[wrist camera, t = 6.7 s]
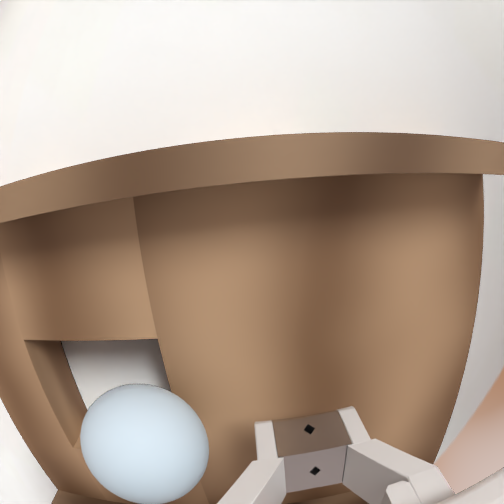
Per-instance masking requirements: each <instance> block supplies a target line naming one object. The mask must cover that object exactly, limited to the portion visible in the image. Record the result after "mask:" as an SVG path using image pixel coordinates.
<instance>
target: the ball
mask: <svg viewBox="0 0 504 504" xmlns="http://www.w3.org/2000/svg"><path fill="white" fill-rule="evenodd" d="M80 443H81V449H82V454H83V457H84V460H85V462H86V464H87V466H88V468H89V470H90V471H91V473H92V474H93V476H94V477H95V478H96V479H97V480H98V482H99V483H100V484H102V485H103V486H104V487H105V488H106V489H107V490H109V491H110V492H112V493H113V494H115V495H117V496H119V497H121V498H123V499H125V500H128V501H131V502H135V503H140V504H163V503H167V502H171V501H174V500H176V499H178V498H181V497H182V496H184V495H185V494H187V493H188V492H189V491H191V490H192V489H193V488H194V487H195V486H196V485H197V483H198V482H199V481H200V479H201V478H202V476H203V474H204V472H205V470H206V467H207V463H208V459H209V442H208V437H207V434H206V430H205V428H204V426H203V424H202V422H201V420H200V418H199V417H198V415H197V414H196V412H195V411H194V410H193V409H192V408H191V407H190V406H189V405H188V404H187V403H186V402H185V401H184V400H183V399H181V398H180V397H178V396H177V395H175V394H174V393H172V392H170V391H168V390H166V389H163V388H160V387H157V386H153V385H148V384H128V385H122V386H119V387H116V388H114V389H111V390H109V391H107V392H106V393H104V394H103V395H101V396H100V397H99V398H98V399H97V400H95V402H94V403H93V404H92V405H91V406H90V408H89V409H88V411H87V413H86V415H85V417H84V419H83V422H82V426H81V433H80Z"/></svg>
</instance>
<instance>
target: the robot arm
mask: <svg viewBox="0 0 504 504" xmlns="http://www.w3.org/2000/svg"><path fill="white" fill-rule="evenodd" d="M254 427H255V439H256V451H257V460H256V461H252V462H251V463H250V464H249V466H248V467H247V468H246V469H245V471H244V472H243V473H242V474H241V476H240V477H239V478H238V479H237V481H236V482H235V483H234V484H233V485H232V487H231V488H230V489H229V490H228V491H227V493H226V494H225V495H224V496H223V497H222V498H221V500H220V501H219V502H218V503H217V504H281V503H282V501H283V499H284V498H285V496H286V493H289V492H295V491H301V490H306V489H311V488H316V487H322V486H328V485H333V484H338V483H342V484H343V485H345V486H346V487H347V488H349V489H350V490H351V491H353V492H354V493H355V494H357V495H358V496H359V497H361V498H362V499H363V500H365V501H366V502H368V503H369V504H504V467H503V468H502V469H500V470H499V471H497V472H496V473H494V474H492V475H490V476H489V477H487V478H485V479H484V480H482V481H480V482H478V483H477V484H475V485H473V486H471V487H469V488H467V489H465V490H463V491H461V492H460V493H457V494H455V493H454V492H453V490H452V488H451V487H450V485H449V484H448V482H447V481H446V479H445V478H444V476H443V474H442V473H441V471H440V470H439V468H438V467H437V466H435V465H433V464H430V463H428V462H426V461H423V460H421V459H419V458H417V457H414V456H412V455H410V454H408V453H405V452H403V451H401V450H399V449H397V448H395V447H392V446H390V445H388V444H386V443H384V442H382V441H380V440H378V439H372V440H371V439H370V437H369V435H368V433H367V431H366V429H365V427H364V425H363V423H362V421H361V419H360V417H359V415H358V413H357V411H356V409H355V408H354V407H353V406H350V407H346V408H342V409H337V410H333V411H328V412H323V413H318V414H312V415H307V416H301V417H293V418H285V419H276V420H272V421H271V420H270V421H258V422H255V424H254Z"/></svg>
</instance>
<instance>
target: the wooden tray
mask: <svg viewBox="0 0 504 504" xmlns="http://www.w3.org/2000/svg"><path fill="white" fill-rule="evenodd" d="M483 174H495V175H504V143H503V142H496V141H489V140H481V139H472V138H463V137H452V136H441V135H426V134H408V133H378V132H334V133H303V134H284V135H269V136H256V137H245V138H234V139H225V140H216V141H207V142H199V143H192V144H185V145H178V146H171V147H165V148H159V149H153V150H147V151H141V152H136V153H130V154H125V155H120V156H115V157H110V158H105V159H101V160H96V161H92V162H87V163H83V164H79V165H75V166H71V167H67V168H63V169H59V170H55V171H51V172H47V173H44V174H40V175H37V176H33V177H30V178H26V179H23V180H20V181H16V182H13V183H10V184H7V185H4V186H1V187H0V398H1V400H2V402H3V404H4V406H5V408H6V409H7V411H8V413H9V415H10V417H11V419H12V421H13V422H14V424H15V426H16V428H17V429H18V431H19V433H20V435H21V436H22V438H23V440H24V441H25V443H26V444H27V446H28V448H29V449H30V451H31V452H32V454H33V455H34V457H35V458H36V460H37V461H38V463H39V464H40V466H41V467H42V469H43V470H44V471H45V473H46V474H47V476H48V477H49V478H50V480H51V481H52V482H53V484H54V485H55V486H56V488H57V489H58V491H57V493H56V495H55V497H54V499H53V501H52V503H51V504H140V503H135V502H131V501H128V500H125V499H123V498H121V497H119V496H117V495H115V494H113V493H112V492H110V491H109V490H107V489H106V488H105V487H104V486H103V485H102V484H100V483H99V482H98V480H97V479H96V478H95V477H94V476H93V474H92V473H91V471H90V470H89V468H88V466H87V464H86V462H85V460H84V457H83V454H82V449H81V443H80V433H81V426H82V422H83V419H84V417H85V415H86V413H87V409H86V407H85V404H84V402H83V400H82V397H81V395H80V393H79V390H78V388H77V385H76V383H75V380H74V378H73V375H72V372H71V370H70V367H69V364H68V362H67V359H66V356H65V353H64V350H63V347H62V344H61V341H97V340H136V339H158V342H159V346H160V351H161V355H162V359H163V363H164V367H165V370H166V374H167V378H168V382H169V385H170V389H171V392H172V393H174V394H175V395H177V396H178V397H180V398H181V399H183V400H184V401H185V402H186V403H187V404H188V405H189V406H190V407H191V408H192V409H193V410H194V411H195V412H196V414H197V415H198V417H199V418H200V420H201V422H202V424H203V426H204V428H205V430H206V434H207V437H208V442H209V459H208V463H207V467H206V470H205V472H204V474H203V476H202V478H201V479H200V481H199V482H198V483H197V485H196V486H195V487H194V488H193V489H192V490H191V491H189V492H188V493H187V494H185V495H184V496H182V497H181V498H178V499H176V500H174V501H171V502H167V503H163V504H217V503H218V502H219V501H220V500H221V498H222V497H223V496H224V495H225V494H226V493H227V491H228V490H229V489H230V488H231V487H232V485H233V484H234V483H235V482H236V481H237V479H238V478H239V477H240V476H241V474H242V473H243V472H244V471H245V469H246V468H247V467H248V466H249V464H250V463H251V462H252V461H256V460H257V451H256V439H255V427H254V424H255V422H258V421H270V420H271V421H272V420H276V419H285V418H293V417H301V416H307V415H312V414H318V413H323V412H328V411H333V410H337V409H342V408H346V407H350V406H353V407H354V408H355V409H356V411H357V413H358V415H359V417H360V419H361V421H362V423H363V425H364V427H365V429H366V431H367V433H368V435H369V437H370V439H371V440H372V439H378V440H380V441H382V442H384V443H386V444H388V445H390V446H392V447H395V448H397V449H399V450H401V451H403V452H405V453H408V454H410V455H412V456H414V457H417V458H419V459H421V460H423V461H426V462H428V463H430V464H433V463H434V461H435V458H436V456H437V453H438V451H439V448H440V446H441V443H442V441H443V438H444V435H445V433H446V430H447V427H448V424H449V421H450V418H451V415H452V412H453V409H454V406H455V402H456V399H457V396H458V392H459V389H460V385H461V381H462V378H463V374H464V370H465V366H466V361H467V357H468V353H469V348H470V343H471V338H472V333H473V327H474V322H475V315H476V309H477V302H478V294H479V286H480V276H481V265H482V251H483V227H484V198H483ZM281 504H369V503H368V502H366V501H365V500H363V499H362V498H361V497H359V496H358V495H357V494H355V493H354V492H353V491H351V490H350V489H349V488H347V487H346V486H345V485H343V484H342V483H338V484H333V485H328V486H322V487H316V488H311V489H306V490H301V491H295V492H289V493H286V496H285V498H284V499H283V501H282V503H281Z"/></svg>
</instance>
